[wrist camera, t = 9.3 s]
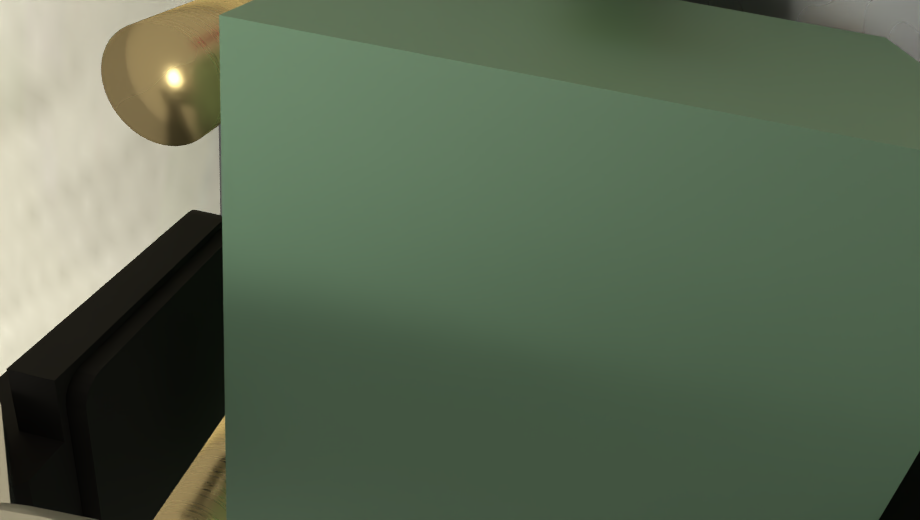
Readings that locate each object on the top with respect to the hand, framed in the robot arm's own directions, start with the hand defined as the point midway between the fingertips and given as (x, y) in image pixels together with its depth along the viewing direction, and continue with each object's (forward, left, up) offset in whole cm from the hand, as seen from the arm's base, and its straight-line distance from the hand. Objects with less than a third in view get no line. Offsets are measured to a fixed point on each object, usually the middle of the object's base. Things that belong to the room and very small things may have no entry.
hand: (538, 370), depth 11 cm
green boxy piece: (0, 0, -2) cm, 2 cm away
